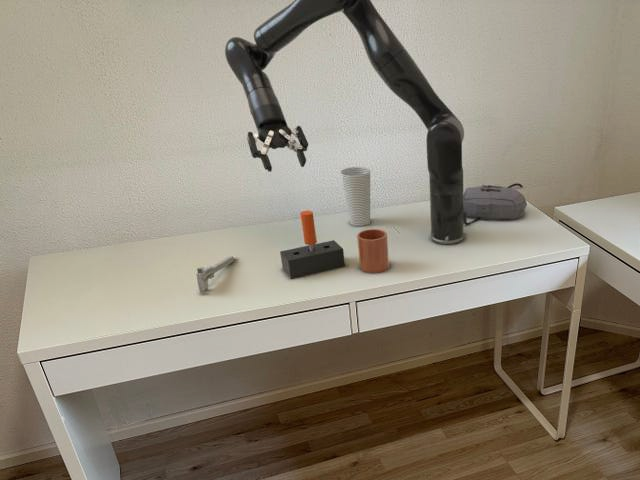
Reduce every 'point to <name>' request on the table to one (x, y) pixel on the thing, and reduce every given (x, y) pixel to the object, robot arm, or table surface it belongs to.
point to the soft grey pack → (493, 202)
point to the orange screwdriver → (308, 228)
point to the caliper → (210, 273)
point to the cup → (357, 194)
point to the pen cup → (373, 250)
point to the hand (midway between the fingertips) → (287, 167)
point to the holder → (312, 259)
